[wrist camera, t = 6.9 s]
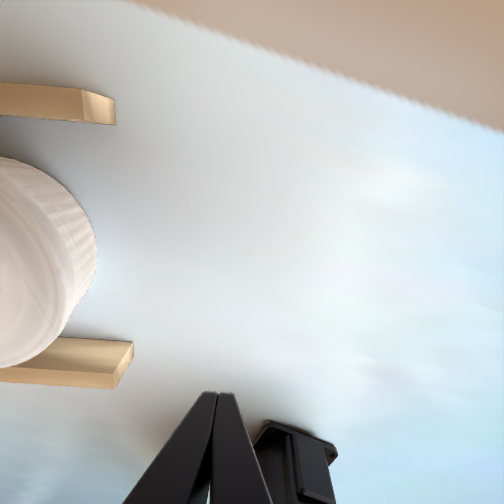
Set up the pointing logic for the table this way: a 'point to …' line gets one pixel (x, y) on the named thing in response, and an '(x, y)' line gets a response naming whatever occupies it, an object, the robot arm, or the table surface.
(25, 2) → the table surface
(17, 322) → the ramekin
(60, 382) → the cradle
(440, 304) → the table surface
